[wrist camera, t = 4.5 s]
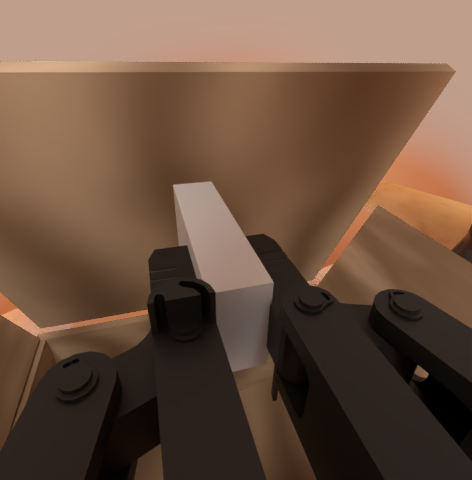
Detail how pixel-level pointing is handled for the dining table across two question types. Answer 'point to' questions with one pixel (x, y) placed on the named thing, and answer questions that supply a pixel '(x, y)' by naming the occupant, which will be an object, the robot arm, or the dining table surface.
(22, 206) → the carton flap
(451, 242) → the dining table surface
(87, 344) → the shipping carton
